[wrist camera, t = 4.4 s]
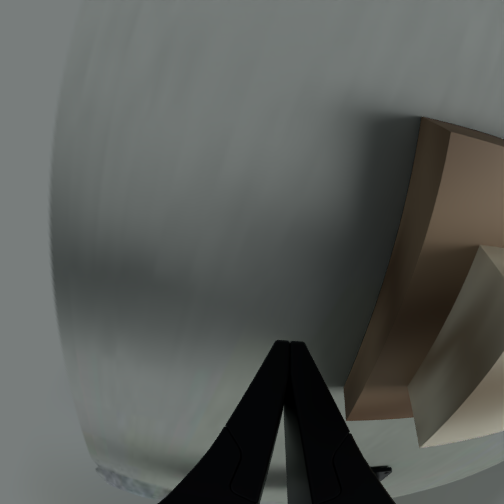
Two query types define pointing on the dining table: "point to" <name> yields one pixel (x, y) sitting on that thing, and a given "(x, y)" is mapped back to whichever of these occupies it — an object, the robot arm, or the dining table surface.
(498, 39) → the dining table surface
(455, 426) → the birch tile
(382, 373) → the walnut board
